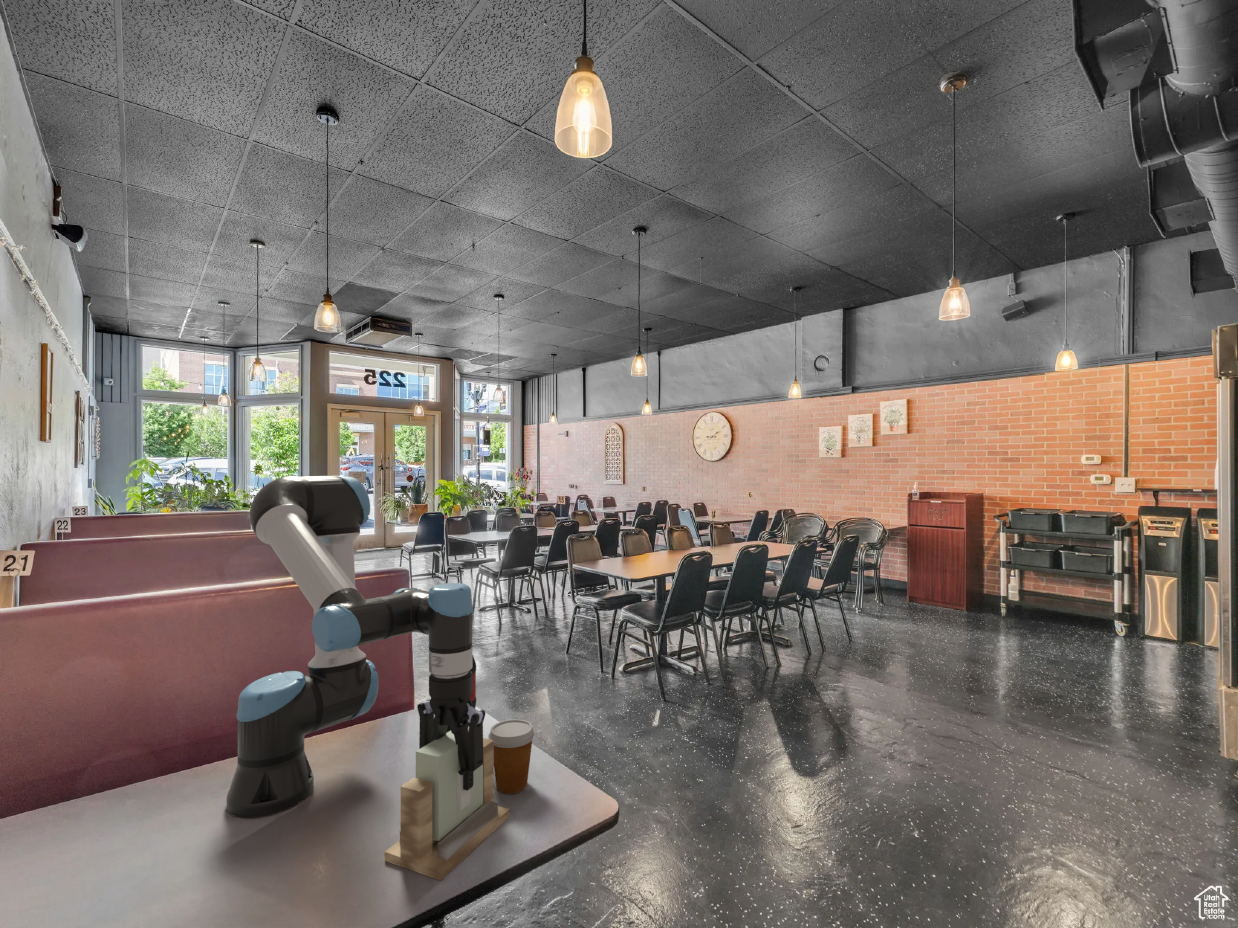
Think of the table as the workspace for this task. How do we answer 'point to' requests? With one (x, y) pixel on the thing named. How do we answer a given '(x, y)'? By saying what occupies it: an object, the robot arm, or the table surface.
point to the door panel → (446, 784)
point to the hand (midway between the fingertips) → (451, 802)
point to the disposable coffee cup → (512, 754)
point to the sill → (454, 847)
